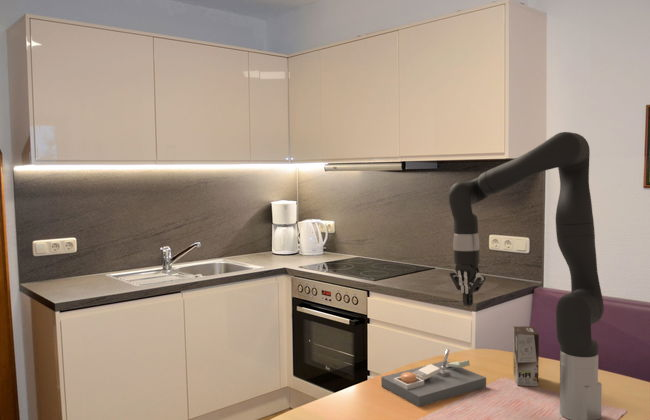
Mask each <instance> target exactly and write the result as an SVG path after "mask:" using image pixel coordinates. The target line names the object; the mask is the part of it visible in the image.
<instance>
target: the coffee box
mask: <svg viewBox="0 0 650 420" xmlns="http://www.w3.org/2000/svg"><path fill="white" fill-rule="evenodd" d="M512 329H513V330H512V333H513V342H512V344H513V345H512V346H513V376H514V380H515V382H516V385H517V386H523V387H524V386H526V387H539V360H540V359H539V357H540V355H539V353H540V352H539V351H540V350H539V347H540V346H539V345H540V341H539V340H540V339H539V337H540V334H539V332H538V331H537V330H536V327H534V326H527V325H526V326H525V325H524V326H522V325H521V326H513V328H512Z"/></svg>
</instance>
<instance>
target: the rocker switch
mask: <svg viewBox="0 0 650 420" xmlns="http://www.w3.org/2000/svg"><path fill="white" fill-rule="evenodd" d="M431 364H432V363H430V364H426V365H427V366H426V365H424V366H425V367H423V368H421V369H419V370H417V371H414V372H413V373H414V374H416V377H418V378H420V379H422V380H425V379H427V378H429V377H431V376H433V375H435V374H437V373H439V372H440V368H438V367H436V366H434V365H431Z"/></svg>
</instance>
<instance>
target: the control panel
mask: <svg viewBox="0 0 650 420" xmlns="http://www.w3.org/2000/svg"><path fill="white" fill-rule="evenodd" d="M448 363H451V362H450V361H447V363H446V367H445V368H446V369H445V370H444V371H443V370H441V367H442V364H443V360H442V361H438V362H435V363H430V364H431V365H434V366H436V367H438V368H440V372H439V373H437V374H435V375H433V376H431V377H429V378H427V379H425V380H422V379H420V378H418V377H416V382H413V383H410V384H406V383H404V382H402V381H401V374H402V373H406V372H410V373H413V372H414V371H417V370H419V369H421V368H423V367H425V366H427V365H428V364H426V365H424V366H419V367H414V368H411V369H408V370H403V371H399V372H396V373H391V374H387V375H384V376H381V378H380V379H381V387H382V388H384V389H386V390H387V391H389V392H391V393H393V394H395V395H396V396H398V397H400V398H402V399H404V400H405V401H407V402H409V403H411V404H413V405H415V406H416V407H418V408H421V407H424V406H427V405H431V404H433V403H437V402H441V401H445V400H448V399H451V398H454V397H458V396H461V395H464V394H468V393H471V392H475V391H477V390H482V389H485V388H487V377H486V376H483V375H480V374H479V373H476V372H474V371H472V370H469V369H467V368H465V367H462V368H459V367H451V366H448ZM484 387H485V388H484Z"/></svg>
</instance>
